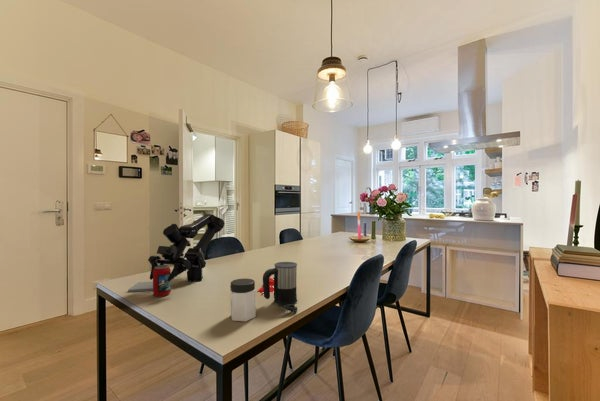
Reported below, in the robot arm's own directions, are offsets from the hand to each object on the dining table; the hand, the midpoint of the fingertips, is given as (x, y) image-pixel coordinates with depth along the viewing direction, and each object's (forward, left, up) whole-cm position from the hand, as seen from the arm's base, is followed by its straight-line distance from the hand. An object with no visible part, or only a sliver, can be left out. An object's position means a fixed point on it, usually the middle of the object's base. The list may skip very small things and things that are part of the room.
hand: (159, 280), depth 118 cm
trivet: (+9, -13, -7) cm, 18 cm away
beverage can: (-1, -1, -7) cm, 7 cm away
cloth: (-47, -4, -7) cm, 47 cm away
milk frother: (-51, +21, -7) cm, 55 cm away
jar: (-35, +28, -7) cm, 45 cm away
